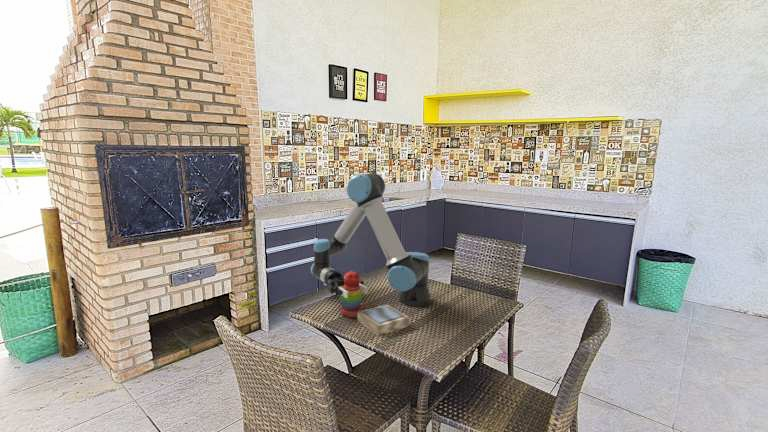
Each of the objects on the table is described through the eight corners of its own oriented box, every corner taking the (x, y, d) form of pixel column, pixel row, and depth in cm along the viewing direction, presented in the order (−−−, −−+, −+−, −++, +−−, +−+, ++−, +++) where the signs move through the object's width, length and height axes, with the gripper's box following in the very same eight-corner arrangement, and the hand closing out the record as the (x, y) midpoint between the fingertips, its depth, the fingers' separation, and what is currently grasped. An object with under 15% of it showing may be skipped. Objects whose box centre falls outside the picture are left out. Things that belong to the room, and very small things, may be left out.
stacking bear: (359, 318, 157) (360, 277, 154) (336, 315, 159) (336, 274, 156) (366, 308, 168) (367, 269, 165) (344, 305, 170) (344, 267, 167)
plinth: (386, 312, 165) (387, 303, 165) (408, 326, 154) (409, 316, 153) (357, 320, 157) (357, 310, 156) (378, 335, 145) (378, 325, 144)
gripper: (351, 281, 183) (378, 296, 165) (310, 289, 171) (334, 306, 153) (351, 266, 182) (378, 279, 164) (309, 273, 169) (334, 289, 151)
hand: (357, 292), depth 158 cm, fingers closed on stacking bear, 9 cm apart
